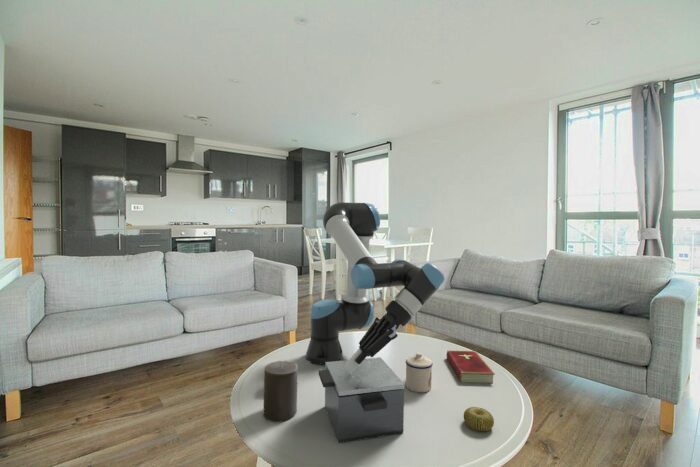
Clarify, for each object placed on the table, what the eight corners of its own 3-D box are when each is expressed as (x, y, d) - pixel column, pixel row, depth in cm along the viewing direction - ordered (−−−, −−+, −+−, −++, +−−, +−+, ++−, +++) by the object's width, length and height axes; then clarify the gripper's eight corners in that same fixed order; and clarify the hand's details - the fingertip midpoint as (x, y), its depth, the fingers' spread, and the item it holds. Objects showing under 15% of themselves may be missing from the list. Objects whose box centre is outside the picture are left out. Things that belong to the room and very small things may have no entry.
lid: (315, 366, 103) (315, 362, 103) (380, 361, 109) (380, 357, 109) (327, 397, 86) (327, 392, 86) (404, 388, 91) (404, 384, 91)
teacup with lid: (435, 393, 113) (435, 358, 113) (407, 393, 113) (408, 358, 113) (426, 376, 125) (427, 345, 125) (401, 376, 125) (402, 345, 125)
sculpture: (469, 419, 91) (459, 403, 99) (469, 434, 92) (459, 417, 100) (499, 419, 92) (486, 404, 100) (498, 434, 92) (486, 417, 100)
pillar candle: (268, 425, 94) (269, 372, 94) (260, 408, 103) (261, 359, 102) (301, 417, 99) (302, 366, 98) (291, 401, 107) (292, 354, 107)
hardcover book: (460, 383, 121) (460, 371, 121) (446, 359, 142) (446, 349, 142) (494, 384, 121) (494, 372, 121) (475, 360, 142) (475, 350, 142)
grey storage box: (323, 401, 107) (323, 363, 107) (376, 394, 112) (377, 358, 112) (341, 451, 84) (341, 403, 84) (408, 439, 89) (408, 394, 88)
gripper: (421, 322, 95) (363, 388, 91) (401, 310, 107) (350, 368, 103) (403, 304, 93) (344, 371, 89) (386, 294, 106) (333, 352, 102)
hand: (347, 369), depth 96 cm, fingers closed
